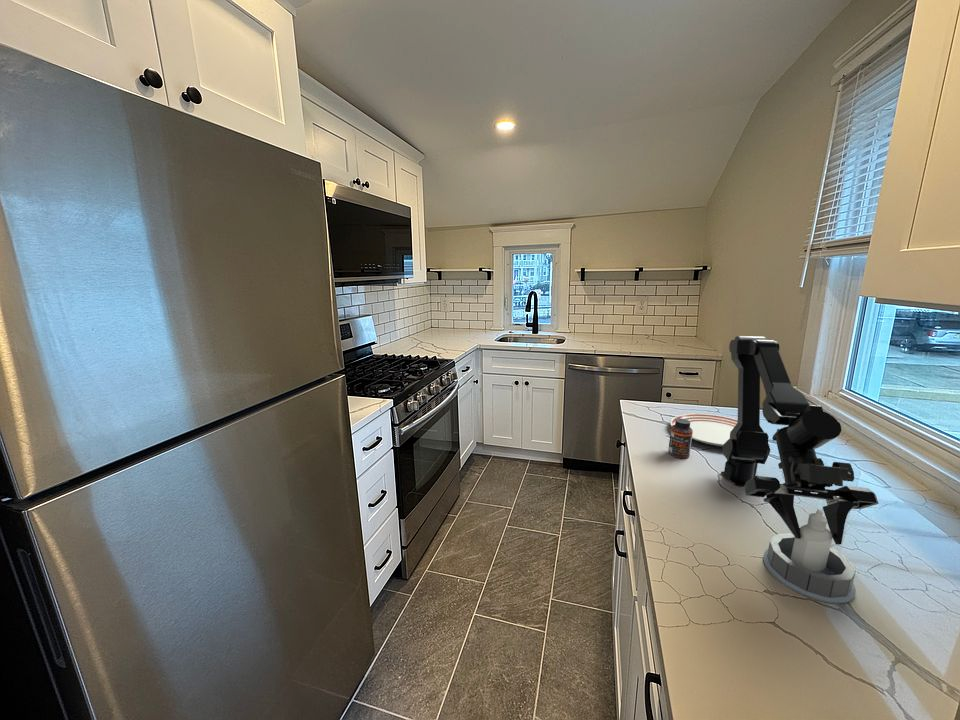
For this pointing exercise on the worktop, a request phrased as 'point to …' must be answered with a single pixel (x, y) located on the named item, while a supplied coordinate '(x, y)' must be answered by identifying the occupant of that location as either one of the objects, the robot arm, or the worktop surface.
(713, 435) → the dinner plate
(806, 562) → the eye dropper bottle
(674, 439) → the supplement bottle
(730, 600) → the worktop surface
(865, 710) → the worktop surface
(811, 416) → the robot arm
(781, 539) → the grey segmented round bowl
